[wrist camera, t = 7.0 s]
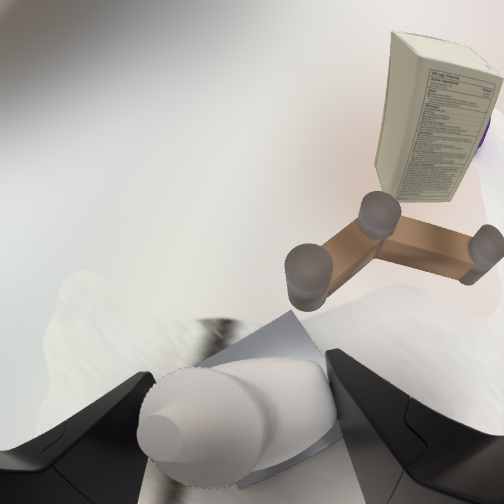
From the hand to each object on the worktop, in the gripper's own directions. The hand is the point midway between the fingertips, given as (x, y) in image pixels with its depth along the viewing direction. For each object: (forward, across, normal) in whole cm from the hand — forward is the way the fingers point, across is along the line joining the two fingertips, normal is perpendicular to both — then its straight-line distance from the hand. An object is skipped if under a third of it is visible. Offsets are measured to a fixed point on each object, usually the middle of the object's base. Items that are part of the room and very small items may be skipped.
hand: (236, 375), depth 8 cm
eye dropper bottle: (+4, 0, +6) cm, 7 cm away
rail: (+9, -9, +2) cm, 13 cm away
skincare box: (+14, -14, -3) cm, 20 cm away
